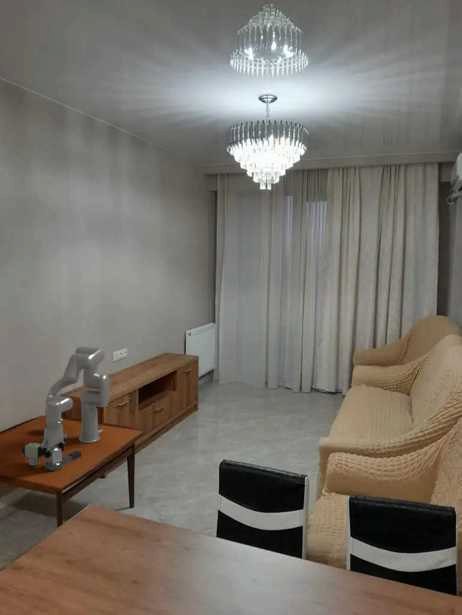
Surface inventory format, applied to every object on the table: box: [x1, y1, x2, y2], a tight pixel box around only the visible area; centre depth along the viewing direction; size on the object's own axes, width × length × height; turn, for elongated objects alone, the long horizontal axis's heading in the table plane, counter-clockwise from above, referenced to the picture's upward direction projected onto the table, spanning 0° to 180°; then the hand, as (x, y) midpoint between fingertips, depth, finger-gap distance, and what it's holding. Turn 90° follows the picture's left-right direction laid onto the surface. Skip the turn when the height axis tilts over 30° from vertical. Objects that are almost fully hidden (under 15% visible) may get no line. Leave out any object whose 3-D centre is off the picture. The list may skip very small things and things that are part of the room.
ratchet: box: [44, 450, 82, 473], centre depth 257 cm, size 22×9×7 cm, turn 152°
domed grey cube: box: [44, 445, 63, 466], centre depth 250 cm, size 6×6×8 cm
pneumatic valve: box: [21, 442, 44, 466], centre depth 254 cm, size 6×12×12 cm, turn 78°
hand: (54, 454), depth 251 cm, fingers open, 9 cm apart
